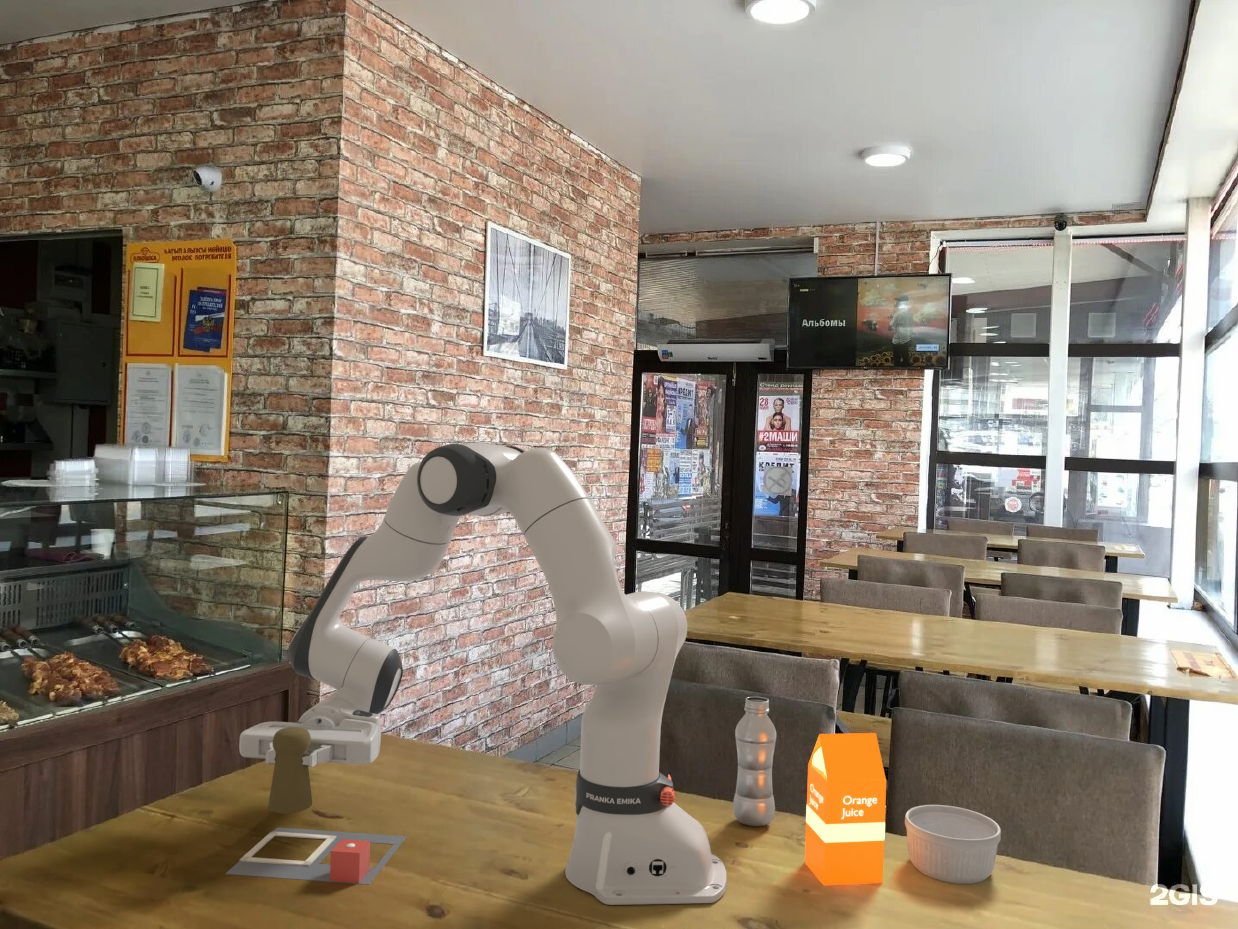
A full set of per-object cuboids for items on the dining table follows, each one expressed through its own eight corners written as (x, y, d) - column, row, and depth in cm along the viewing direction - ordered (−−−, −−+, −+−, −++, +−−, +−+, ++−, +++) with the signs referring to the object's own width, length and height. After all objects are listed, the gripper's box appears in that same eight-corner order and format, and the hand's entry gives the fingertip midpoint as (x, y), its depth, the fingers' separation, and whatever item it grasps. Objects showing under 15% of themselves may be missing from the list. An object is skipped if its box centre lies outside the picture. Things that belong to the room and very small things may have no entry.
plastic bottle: (777, 832, 154) (781, 705, 153) (734, 830, 154) (738, 704, 153) (771, 816, 160) (775, 695, 160) (730, 815, 160) (734, 693, 160)
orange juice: (883, 883, 137) (888, 741, 136) (823, 886, 135) (828, 742, 135) (860, 859, 145) (865, 725, 144) (803, 861, 143) (808, 726, 143)
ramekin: (1012, 868, 143) (1014, 821, 143) (978, 898, 133) (980, 848, 133) (926, 842, 152) (927, 797, 152) (887, 868, 142) (889, 821, 142)
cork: (287, 816, 136) (288, 738, 136) (258, 806, 139) (260, 730, 139) (321, 803, 141) (323, 728, 141) (293, 794, 144) (295, 720, 144)
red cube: (369, 870, 134) (370, 840, 134) (359, 883, 130) (359, 852, 130) (341, 868, 135) (341, 838, 134) (329, 880, 131) (330, 850, 131)
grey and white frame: (406, 841, 146) (406, 835, 146) (369, 890, 130) (369, 883, 130) (277, 832, 148) (277, 826, 148) (225, 879, 132) (225, 872, 132)
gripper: (263, 707, 154) (219, 734, 140) (390, 715, 152) (358, 742, 138) (262, 747, 154) (218, 777, 140) (388, 755, 152) (356, 787, 138)
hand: (288, 760), depth 139 cm, fingers closed on cork, 4 cm apart
